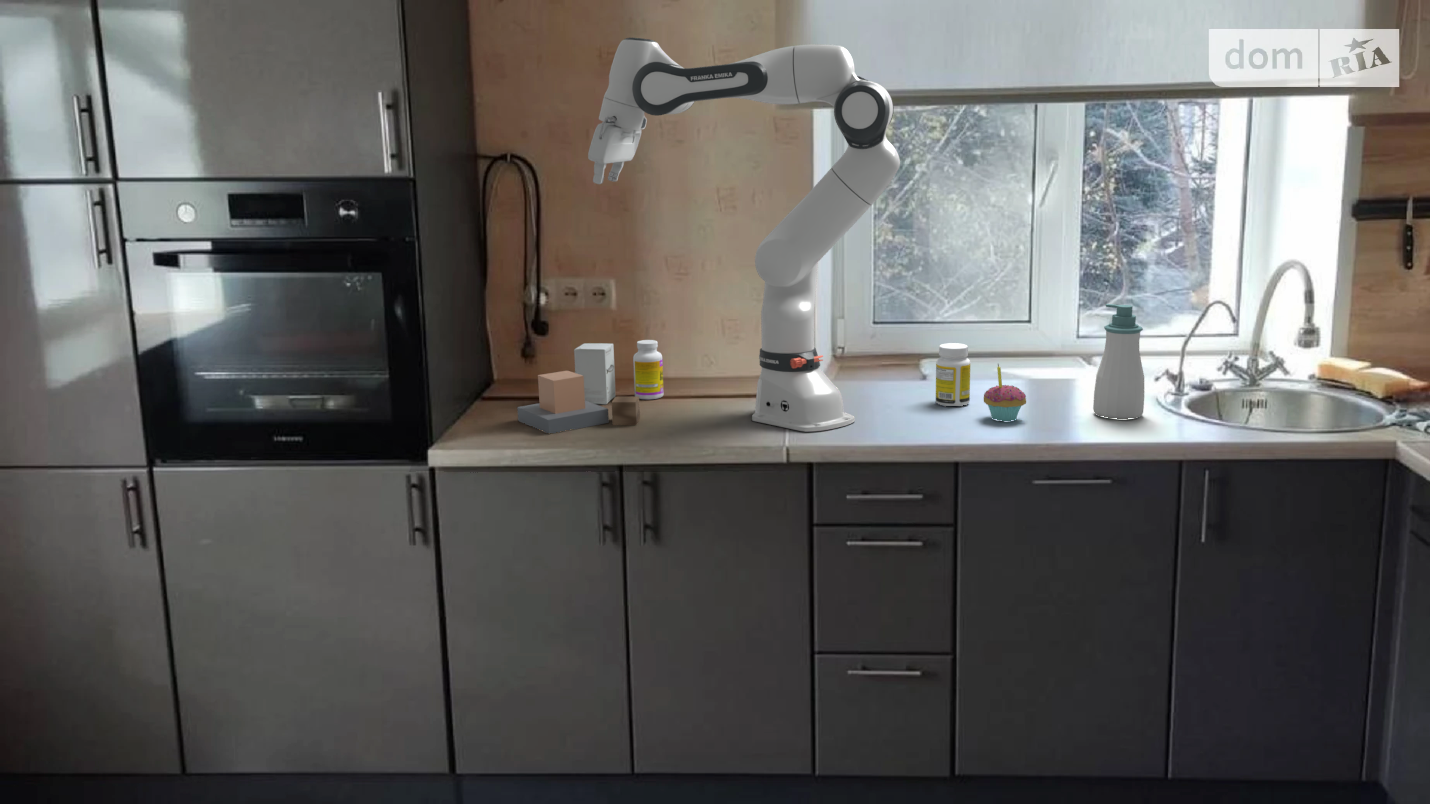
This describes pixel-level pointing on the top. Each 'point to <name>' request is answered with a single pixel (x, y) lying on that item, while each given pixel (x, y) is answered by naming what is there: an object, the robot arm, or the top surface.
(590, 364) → the supplement box
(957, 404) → the supplement bottle
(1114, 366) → the soap bottle
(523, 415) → the base slab
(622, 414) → the walnut block
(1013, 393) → the cupcake
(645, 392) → the supplement bottle
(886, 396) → the top surface
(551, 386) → the terracotta block
